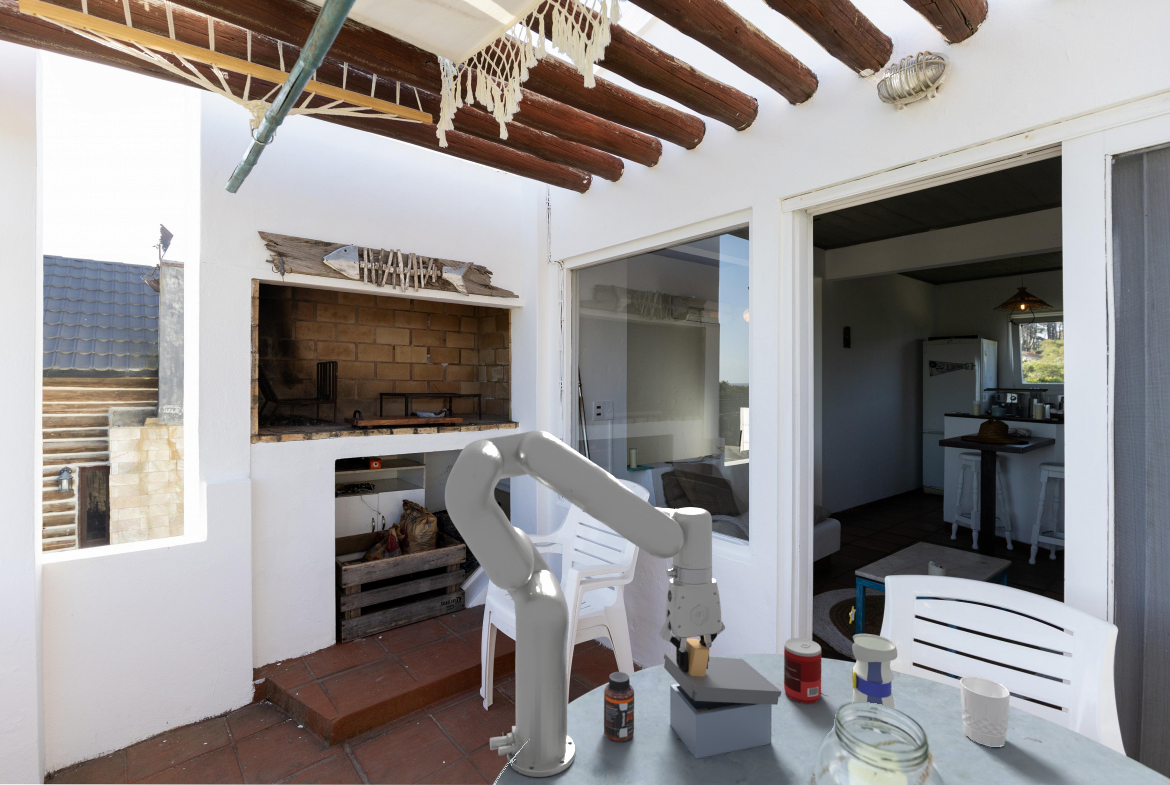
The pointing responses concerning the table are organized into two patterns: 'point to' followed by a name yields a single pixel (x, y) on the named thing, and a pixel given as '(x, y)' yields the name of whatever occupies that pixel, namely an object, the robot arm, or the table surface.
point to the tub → (718, 724)
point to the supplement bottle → (619, 707)
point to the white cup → (984, 710)
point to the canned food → (802, 670)
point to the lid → (720, 678)
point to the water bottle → (872, 668)
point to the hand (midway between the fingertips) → (692, 666)
